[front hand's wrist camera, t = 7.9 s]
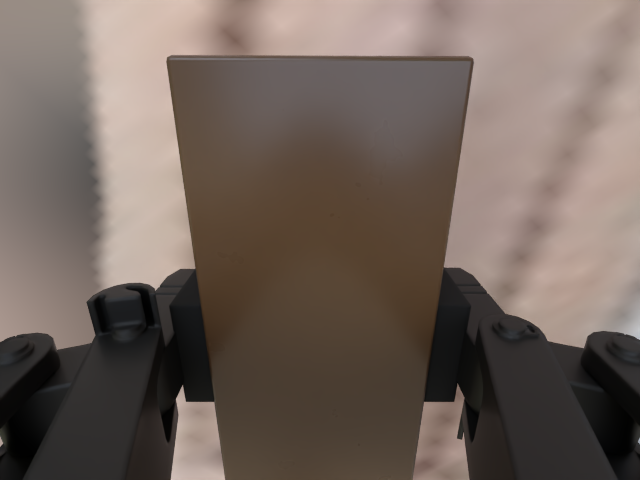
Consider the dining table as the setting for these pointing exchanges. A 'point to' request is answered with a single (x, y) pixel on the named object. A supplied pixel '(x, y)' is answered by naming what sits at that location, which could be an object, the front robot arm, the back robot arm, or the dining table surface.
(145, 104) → the dining table surface
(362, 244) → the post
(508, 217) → the dining table surface
